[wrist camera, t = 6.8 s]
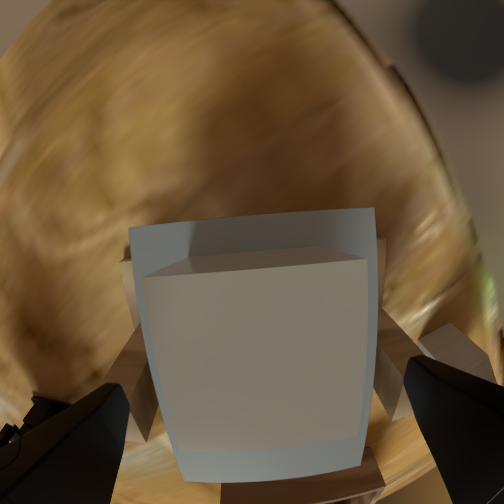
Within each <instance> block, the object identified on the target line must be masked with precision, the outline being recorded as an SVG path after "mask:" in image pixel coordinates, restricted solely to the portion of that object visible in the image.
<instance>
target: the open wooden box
mask: <svg viewBox="0 0 504 504" xmlns="http://www.w3.org/2000/svg"><path fill="white" fill-rule="evenodd" d="M385 486H386V485H385V482H384V480H383V477H382V475H381V472H380V470H379V467H378V465H377V462H376V460H375V457H374V455H373V453H372V450H371V448H370V447H367V448H364V450H363V456H362V460H361V465H360V466H356V467H352V468H348V469H343V470H339V471H334V472H329V473H324V474H318V475H312V476H306V477H299V478H291V479H282V480H272V481H259V482H234V483H221V499H220V504H326V503H331V502H335V503H337V504H375V502H376V501H377V499H378V498H379V496H380V495H381V493H382V491H383V490H384V488H385ZM341 500H343V501H341ZM336 501H339V502H336Z"/></svg>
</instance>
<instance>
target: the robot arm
mask: <svg viewBox="0 0 504 504" xmlns="http://www.w3.org/2000/svg"><path fill="white" fill-rule="evenodd" d="M403 384H404V388H405V390H406V393H407V396H408V398H409V401H410V404H411V407H412V410H413V412H414V415H415V418H416V421H417V423H418V426H419V428H420V430H421V432H422V434H423V436H424V439H425V441H426V443H427V445H428V447H429V449H430V451H431V454H432V456H433V458H434V460H435V462H436V465H437V467H438V469H439V471H440V474H441V476H442V478H443V481H444V483H445V485H446V488H447V490H448V493H449V495H450V498H451V500H452V503H453V504H504V387H503V386H501V385H498V384H495V383H493V382H490V381H487V380H485V379H482V378H480V377H477V376H475V375H472V374H470V373H467V372H465V371H462V370H460V369H457V368H455V367H452V366H450V365H447V364H445V363H442V362H440V361H437V360H435V359H432V358H430V357H428V356H425V355H423V354H419V355H416V356H412V357H410V358H409V359H408V362H407V366H406V370H405V374H404V378H403ZM31 400H32V402H33V403H34V405H33V407H32V408H31V409H30V411H29V412H28V413H27V415H26V416H25V417H24V419H23V422H24V424H23V425H22V427H21V428H20V429H18V427H17V426H16V425H15V424H14V425H13V427H12V426H11V425H9V424H7V423H6V424H5V426H4V427H3V429H2V430H1V431H0V504H110V502H111V498H112V493H113V489H114V485H115V481H116V477H117V474H118V470H119V466H120V462H121V459H122V455H123V450H124V445H125V438H126V432H127V426H128V420H129V414H130V404H129V401H128V399H127V397H126V394H125V392H124V390H123V387H122V385H121V384H119V383H114V382H107V383H105V384H103V385H102V386H100V387H99V388H97V389H96V390H94V391H93V392H91V393H89V394H88V395H86V396H85V397H83V398H82V399H80V400H79V401H77V402H75V403H74V404H72V405H69V404H66V403H61V402H57V401H52V400H48V399H44V398H40V397H36V396H33V397H32V398H31ZM9 441H10V442H11V443H9Z"/></svg>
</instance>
